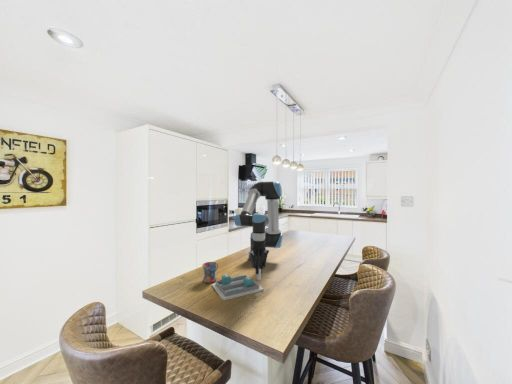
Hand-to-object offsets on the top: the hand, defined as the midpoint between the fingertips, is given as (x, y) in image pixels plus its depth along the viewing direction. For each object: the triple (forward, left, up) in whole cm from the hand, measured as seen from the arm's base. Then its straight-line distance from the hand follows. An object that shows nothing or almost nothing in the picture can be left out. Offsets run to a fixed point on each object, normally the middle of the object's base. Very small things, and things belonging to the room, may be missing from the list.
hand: (258, 279), depth 127 cm
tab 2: (+7, 0, -3) cm, 8 cm away
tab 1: (+17, -9, -3) cm, 20 cm away
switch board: (+12, -5, -4) cm, 14 cm away
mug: (+22, -23, -5) cm, 32 cm away
